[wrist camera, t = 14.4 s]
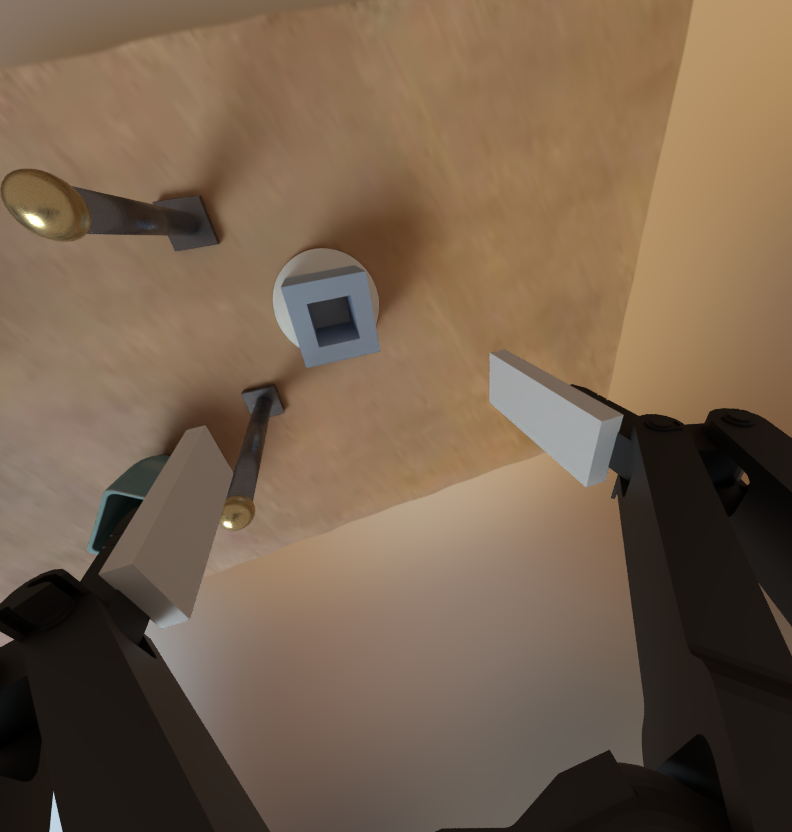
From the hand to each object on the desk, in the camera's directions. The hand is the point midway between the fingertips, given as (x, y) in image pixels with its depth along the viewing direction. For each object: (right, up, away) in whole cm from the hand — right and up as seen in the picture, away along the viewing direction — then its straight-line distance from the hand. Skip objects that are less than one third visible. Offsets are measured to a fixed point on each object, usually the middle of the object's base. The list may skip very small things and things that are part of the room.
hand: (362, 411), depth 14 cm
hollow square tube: (-6, +11, +19) cm, 22 cm away
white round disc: (-6, +12, +19) cm, 23 cm away
